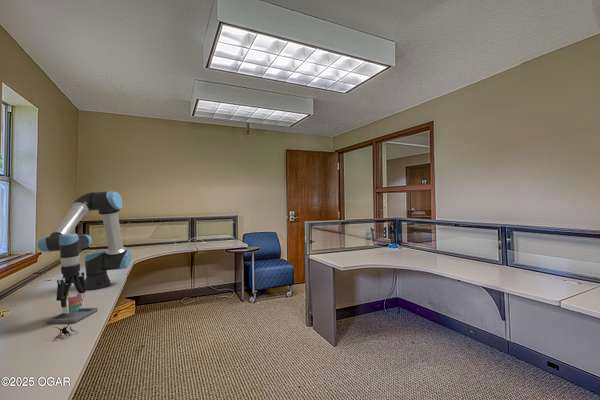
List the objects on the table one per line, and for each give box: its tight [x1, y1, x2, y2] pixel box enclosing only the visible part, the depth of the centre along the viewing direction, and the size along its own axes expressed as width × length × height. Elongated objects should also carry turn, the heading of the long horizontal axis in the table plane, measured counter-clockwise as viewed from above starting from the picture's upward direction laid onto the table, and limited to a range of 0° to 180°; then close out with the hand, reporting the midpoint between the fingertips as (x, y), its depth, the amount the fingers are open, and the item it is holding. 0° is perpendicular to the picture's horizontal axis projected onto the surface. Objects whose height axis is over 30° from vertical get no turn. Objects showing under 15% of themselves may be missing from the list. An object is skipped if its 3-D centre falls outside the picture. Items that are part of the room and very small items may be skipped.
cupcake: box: [66, 291, 84, 313], centre depth 147 cm, size 9×8×12 cm
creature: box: [54, 323, 78, 341], centre depth 127 cm, size 8×5×8 cm
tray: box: [47, 307, 99, 324], centre depth 147 cm, size 14×14×2 cm
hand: (73, 309), depth 147 cm, fingers closed on cupcake, 8 cm apart
